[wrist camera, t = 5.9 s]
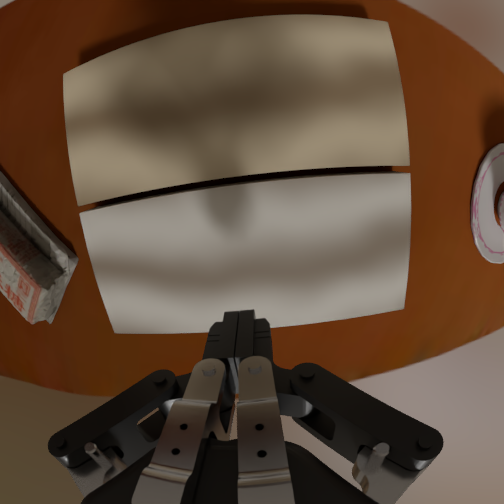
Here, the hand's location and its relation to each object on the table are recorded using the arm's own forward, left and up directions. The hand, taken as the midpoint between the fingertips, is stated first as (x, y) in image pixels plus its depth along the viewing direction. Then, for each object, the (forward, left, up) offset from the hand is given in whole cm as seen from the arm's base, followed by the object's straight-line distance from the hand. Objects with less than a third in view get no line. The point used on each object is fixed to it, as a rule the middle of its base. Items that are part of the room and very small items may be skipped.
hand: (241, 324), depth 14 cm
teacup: (-3, +25, -7) cm, 27 cm away
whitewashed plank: (-1, 0, -7) cm, 7 cm away
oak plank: (-12, 0, -7) cm, 14 cm away
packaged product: (-6, -24, -8) cm, 26 cm away
